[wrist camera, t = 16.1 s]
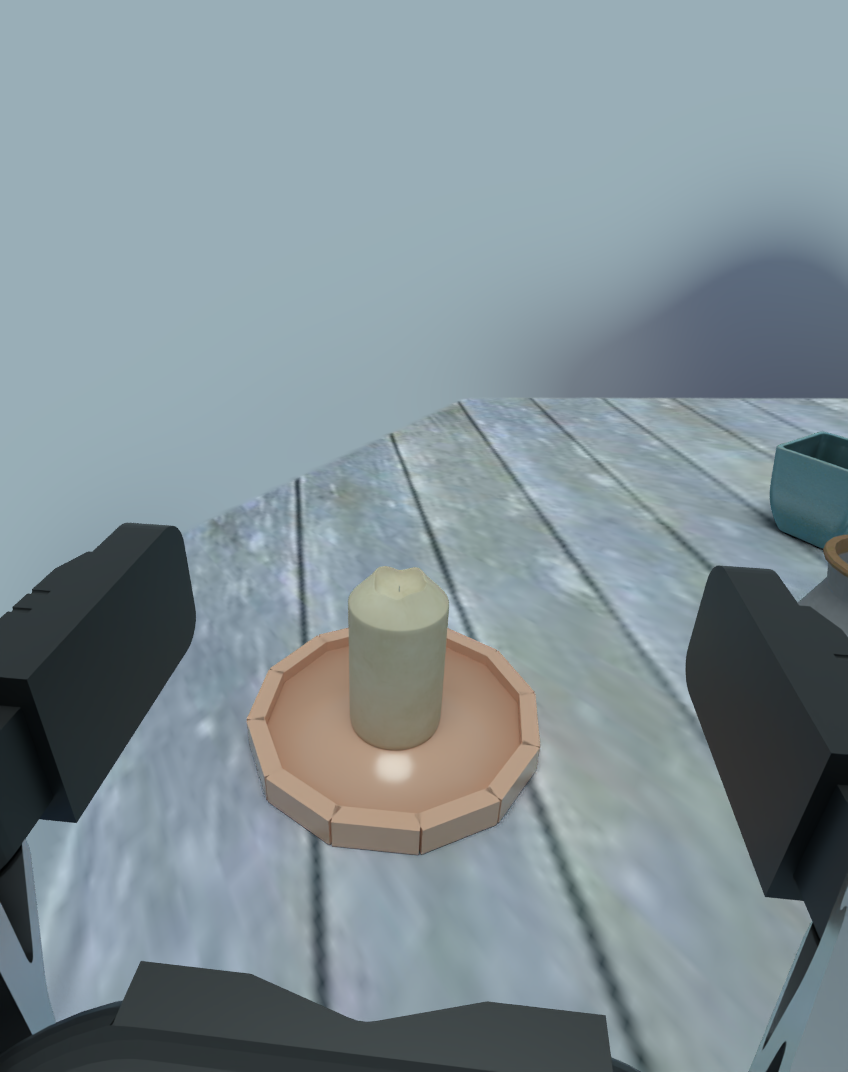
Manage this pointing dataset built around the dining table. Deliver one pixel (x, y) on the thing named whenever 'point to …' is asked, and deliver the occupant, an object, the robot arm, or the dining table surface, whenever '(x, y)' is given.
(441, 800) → the saucer
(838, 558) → the coffee pot
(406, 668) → the candle
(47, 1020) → the robot arm
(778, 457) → the flower pot
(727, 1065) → the dining table surface
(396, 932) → the dining table surface
